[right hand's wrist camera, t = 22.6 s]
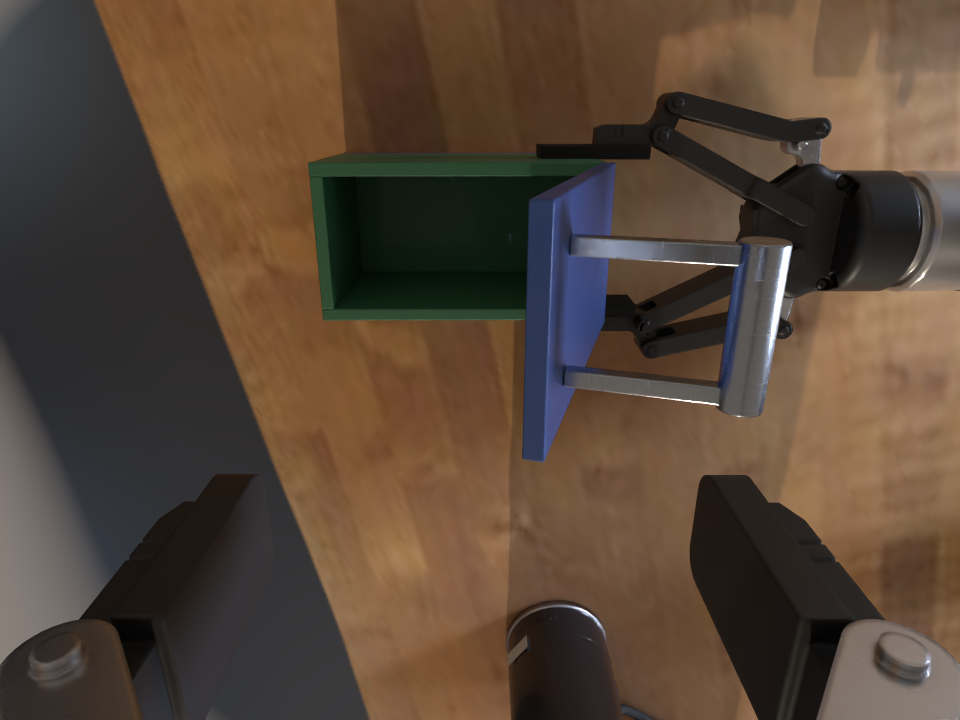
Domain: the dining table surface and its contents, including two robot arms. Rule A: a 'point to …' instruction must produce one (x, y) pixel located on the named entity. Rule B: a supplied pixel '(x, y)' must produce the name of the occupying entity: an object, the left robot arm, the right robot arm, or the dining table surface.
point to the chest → (428, 232)
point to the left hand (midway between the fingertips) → (535, 232)
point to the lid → (582, 298)
